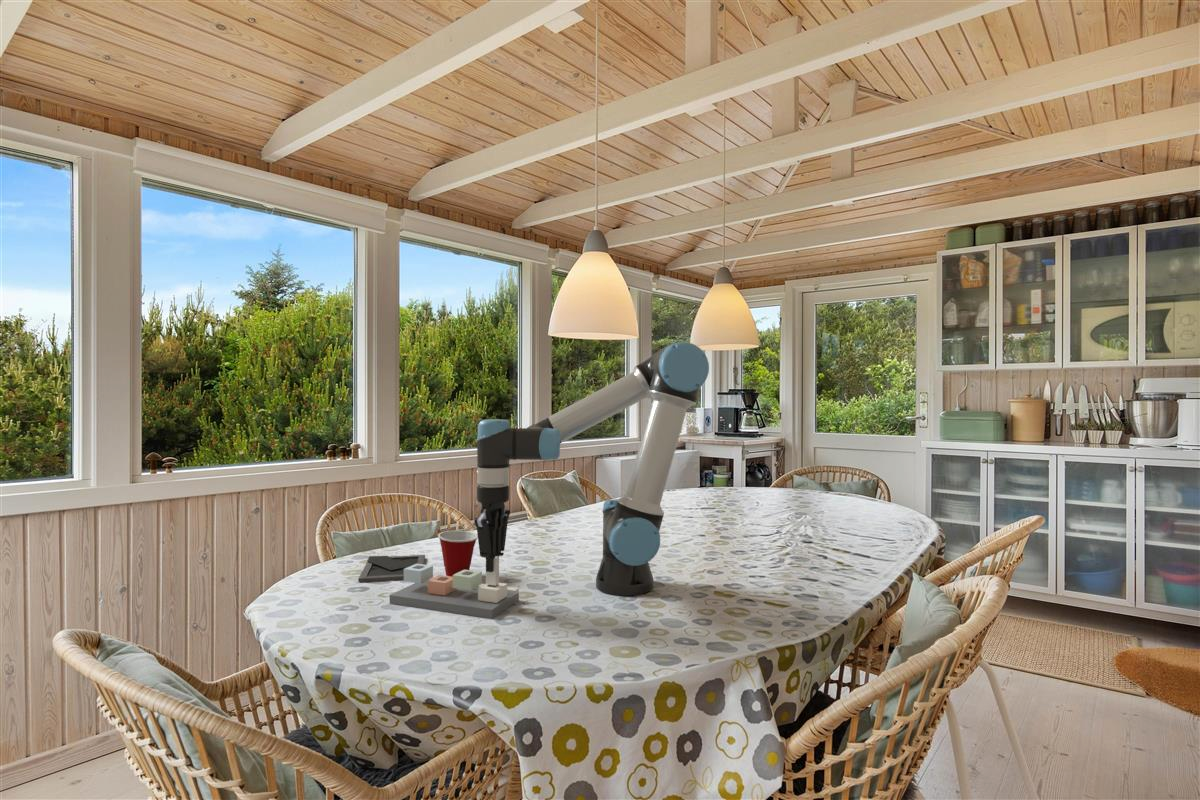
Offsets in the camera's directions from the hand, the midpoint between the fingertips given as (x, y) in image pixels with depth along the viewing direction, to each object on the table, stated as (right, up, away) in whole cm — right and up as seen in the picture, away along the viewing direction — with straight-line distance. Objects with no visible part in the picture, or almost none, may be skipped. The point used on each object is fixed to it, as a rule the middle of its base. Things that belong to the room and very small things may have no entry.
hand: (492, 584), depth 146 cm
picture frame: (-33, -6, +30) cm, 45 cm away
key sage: (-6, -1, +2) cm, 7 cm away
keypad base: (-10, -5, +4) cm, 12 cm away
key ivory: (0, -3, 0) cm, 3 cm away
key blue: (-20, -1, +7) cm, 21 cm away
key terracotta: (-13, -3, +5) cm, 14 cm away
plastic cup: (-13, -5, +23) cm, 27 cm away
